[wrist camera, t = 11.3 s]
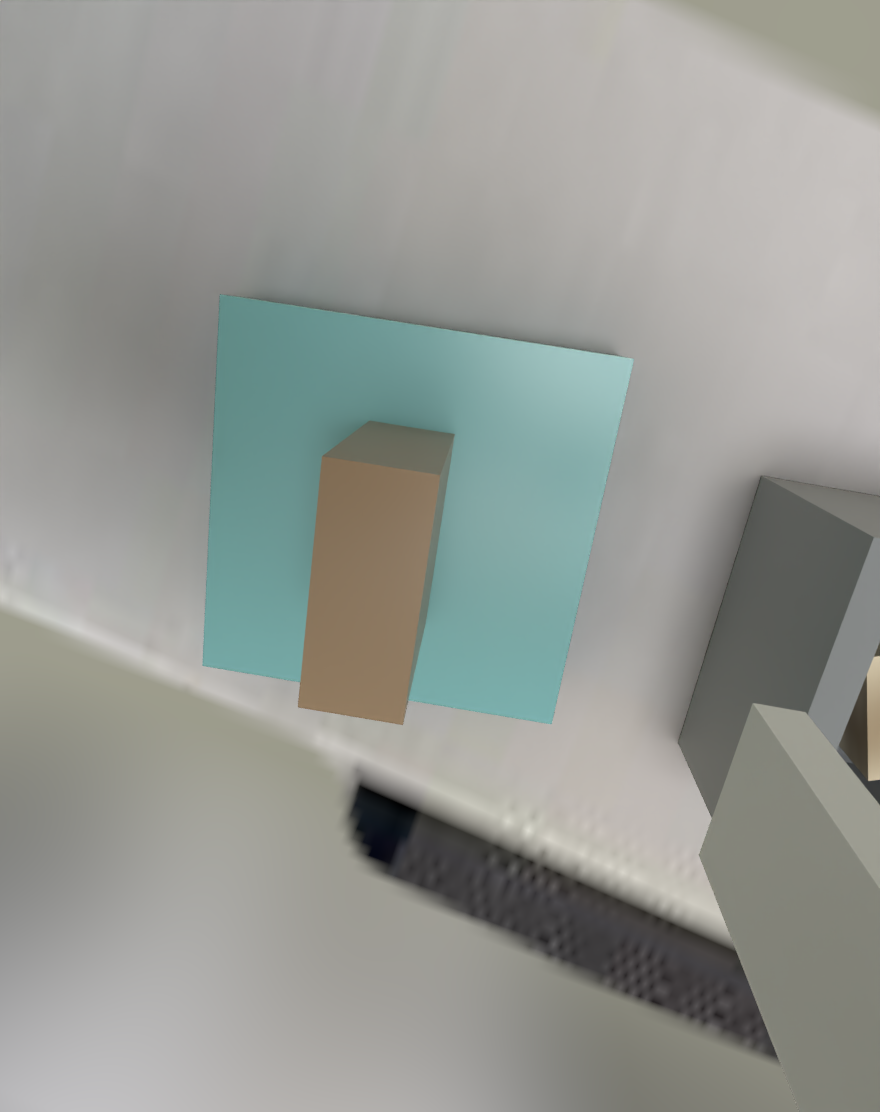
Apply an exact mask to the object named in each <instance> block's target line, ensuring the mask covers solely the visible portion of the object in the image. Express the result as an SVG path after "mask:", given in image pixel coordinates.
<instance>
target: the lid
mask: <svg viewBox="0 0 880 1112" xmlns="http://www.w3.org/2000/svg"><path fill="white" fill-rule="evenodd" d="M633 362H634V359H632V358H627V357H623V356H618V355H611V354H605V353H598V352H592V351H586V350H579V349H573V348H566V347H560V346H554V345H547V344H541V343H534V342H528V341H522V340H515V339H509V338H502V337H496V336H490V335H483V334H477V333H470V332H464V331H458V330H451V329H445V328H438V327H432V326H425V325H419V324H413V323H406V322H400V321H393V320H387V319H381V318H374V317H368V316H361V315H355V314H349V313H342V312H336V311H329V310H323V309H317V308H310V307H304V306H297V305H291V304H284V303H278V302H272V301H265V300H259V299H252V298H245V297H237V296H229V295H221V294H220V300H219V322H218V344H217V365H216V387H215V408H214V430H213V451H212V473H211V495H210V516H209V538H208V559H207V581H206V603H205V624H204V646H203V666H207V667H213V668H219V669H225V670H231V671H237V672H242V673H248V674H254V675H260V676H266V677H272V678H278V679H284V680H290V681H296V682H300V690H299V701H298V707H299V708H305V709H311V710H317V711H323V712H329V713H335V714H341V715H347V716H353V717H359V718H365V719H371V720H377V721H383V722H389V723H395V724H400V725H403V722H404V717H405V713H406V709H407V704H408V700H410V701H416V702H422V703H428V704H433V705H439V706H445V707H451V708H457V709H463V710H469V711H475V712H481V713H487V714H493V715H499V716H505V717H511V718H517V719H523V720H529V721H535V722H541V723H547V724H552V720H553V715H554V711H555V706H556V702H557V698H558V693H559V689H560V684H561V680H562V676H563V671H564V667H565V662H566V658H567V653H568V649H569V645H570V640H571V636H572V631H573V627H574V623H575V618H576V614H577V609H578V605H579V600H580V596H581V592H582V587H583V583H584V578H585V574H586V569H587V565H588V561H589V556H590V552H591V547H592V543H593V539H594V534H595V530H596V525H597V521H598V516H599V512H600V508H601V503H602V499H603V494H604V490H605V486H606V481H607V477H608V472H609V468H610V463H611V459H612V455H613V450H614V446H615V441H616V437H617V432H618V428H619V424H620V419H621V415H622V410H623V406H624V402H625V397H626V393H627V388H628V384H629V379H630V375H631V371H632V366H633Z"/></svg>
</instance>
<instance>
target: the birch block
mask: <svg viewBox="0 0 880 1112" xmlns="http://www.w3.org/2000/svg"><path fill="white" fill-rule="evenodd" d="M839 746H840V748H841V749H842V750H843V751H844V752H845V754H846V755H847V756H848V757H849V758H850V760H851V761H852V762H853V763H854V764H855V766H856V767H857V768H858V769H859V770H860V772H861V773H862V774H863V775H864V777H865V778H866V779H867V780H868V781H873V780H880V643H879V645H878V648H877V650H876V653H875V655H874V658H873V660H872V663H871V665H870V668H869V670H868V673H867V675H866V678H865V680H864V683H863V686H862V688H861V691H860V693H859V696H858V698H857V701H856V703H855V706H854V708H853V711H852V713H851V716H850V718H849V721H848V723H847V726H846V728H845V731H844V733H843V736H842V739H841V741H840V744H839Z"/></svg>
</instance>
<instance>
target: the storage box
mask: <svg viewBox="0 0 880 1112" xmlns="http://www.w3.org/2000/svg"><path fill="white" fill-rule="evenodd" d="M879 643H880V496H875V495H869V494H863V493H858V492H852V491H846V490H840V489H835V488H829V487H823V486H817V485H812V484H806V483H800V482H794V481H789V480H783V479H777V478H772V477H766V476H761V479H760V483H759V486H758V489H757V492H756V495H755V499H754V502H753V505H752V508H751V511H750V515H749V518H748V521H747V524H746V527H745V531H744V534H743V537H742V540H741V544H740V547H739V550H738V553H737V556H736V560H735V563H734V566H733V569H732V572H731V576H730V579H729V582H728V585H727V588H726V592H725V595H724V598H723V601H722V604H721V608H720V611H719V614H718V617H717V620H716V624H715V627H714V630H713V633H712V636H711V640H710V643H709V646H708V649H707V652H706V656H705V659H704V662H703V665H702V668H701V672H700V675H699V678H698V681H697V684H696V688H695V691H694V694H693V697H692V700H691V704H690V707H689V710H688V713H687V716H686V720H685V723H684V726H683V729H682V732H681V736H680V739H679V742H678V744H679V746H680V748H681V750H682V753H683V755H684V757H685V759H686V761H687V764H688V766H689V768H690V770H691V773H692V775H693V777H694V779H695V782H696V784H697V786H698V788H699V790H700V793H701V795H702V797H703V799H704V802H705V804H706V806H707V808H708V811H709V813H710V815H711V817H713V814H714V811H715V808H716V805H717V803H718V800H719V797H720V794H721V791H722V788H723V786H724V783H725V780H726V777H727V774H728V771H729V769H730V766H731V763H732V760H733V757H734V754H735V752H736V749H737V746H738V743H739V740H740V737H741V735H742V732H743V729H744V726H745V723H746V721H747V718H748V715H749V712H750V709H751V706H752V704H753V703H756V704H762V705H767V706H773V707H779V708H785V709H790V710H796V711H802V712H806V713H807V715H808V716H809V717H810V718H811V720H812V721H813V722H814V723H815V725H816V726H817V727H818V728H819V730H820V731H821V732H822V733H823V735H824V736H825V737H826V738H827V740H828V741H829V742H830V743H831V745H832V746H833V747H834V748H835V750H836V751H837V752H838V753H839V755H840V756H841V757H842V758H843V760H844V761H845V762H846V763H847V765H848V766H849V767H850V768H851V770H852V771H853V772H854V773H855V775H856V776H857V777H858V778H859V780H860V781H861V782H862V783H863V785H864V786H865V787H866V788H867V790H868V791H869V792H870V793H871V795H872V796H873V797H874V798H875V800H876V801H877V802H878V803H879V805H880V780H873V781H868V780H867V779H866V778H865V777H864V775H863V774H862V773H861V772H860V770H859V769H858V768H857V767H856V766H855V764H854V763H853V762H852V761H851V760H850V758H849V757H848V756H847V755H846V754H845V752H844V751H843V750H842V749H841V748H840V746H839V744H840V741H841V739H842V736H843V733H844V731H845V728H846V726H847V723H848V721H849V718H850V716H851V713H852V711H853V708H854V706H855V703H856V701H857V698H858V696H859V693H860V691H861V688H862V686H863V683H864V680H865V678H866V675H867V673H868V670H869V668H870V665H871V663H872V660H873V658H874V655H875V653H876V650H877V648H878V645H879Z"/></svg>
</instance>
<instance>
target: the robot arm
mask: <svg viewBox="0 0 880 1112" xmlns="http://www.w3.org/2000/svg"><path fill="white" fill-rule="evenodd" d="M699 857H700V859H701V862H702V864H703V867H704V869H705V872H706V875H707V877H708V880H709V882H710V885H711V887H712V890H713V892H714V895H715V898H716V900H717V903H718V905H719V908H720V910H721V913H722V915H723V918H724V921H725V923H726V926H727V928H728V931H729V933H730V936H731V938H732V941H733V944H734V946H735V949H736V951H737V954H738V956H739V959H740V961H741V964H742V967H743V969H744V972H745V974H746V977H747V979H748V982H749V984H750V987H751V990H752V992H753V995H754V997H755V1000H756V1002H757V1005H758V1007H759V1010H760V1013H761V1015H762V1018H763V1020H764V1023H765V1025H766V1028H767V1031H768V1033H769V1036H770V1038H771V1041H772V1043H773V1046H774V1048H775V1051H776V1054H777V1056H778V1059H779V1061H780V1064H781V1066H782V1069H783V1071H784V1074H785V1077H786V1079H787V1082H788V1084H789V1087H790V1089H791V1092H792V1094H793V1097H794V1100H795V1102H796V1105H797V1107H798V1110H799V1112H880V805H879V803H878V802H877V801H876V800H875V798H874V797H873V796H872V795H871V793H870V792H869V791H868V790H867V788H866V787H865V786H864V785H863V783H862V782H861V781H860V780H859V778H858V777H857V776H856V775H855V773H854V772H853V771H852V770H851V768H850V767H849V766H848V765H847V763H846V762H845V761H844V760H843V758H842V757H841V756H840V755H839V753H838V752H837V751H836V750H835V748H834V747H833V746H832V745H831V743H830V742H829V741H828V740H827V738H826V737H825V736H824V735H823V733H822V732H821V731H820V730H819V728H818V727H817V726H816V725H815V723H814V722H813V721H812V720H811V718H810V717H809V716H808V715H807V713H806V712H802V711H796V710H790V709H785V708H779V707H773V706H767V705H762V704H756V703H753V704H752V706H751V709H750V712H749V715H748V718H747V721H746V723H745V726H744V729H743V732H742V735H741V737H740V740H739V743H738V746H737V749H736V752H735V754H734V757H733V760H732V763H731V766H730V769H729V771H728V774H727V777H726V780H725V783H724V786H723V788H722V791H721V794H720V797H719V800H718V803H717V805H716V808H715V811H714V814H713V817H712V820H711V822H710V825H709V828H708V831H707V834H706V836H705V839H704V842H703V845H702V848H701V851H700V853H699Z"/></svg>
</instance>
